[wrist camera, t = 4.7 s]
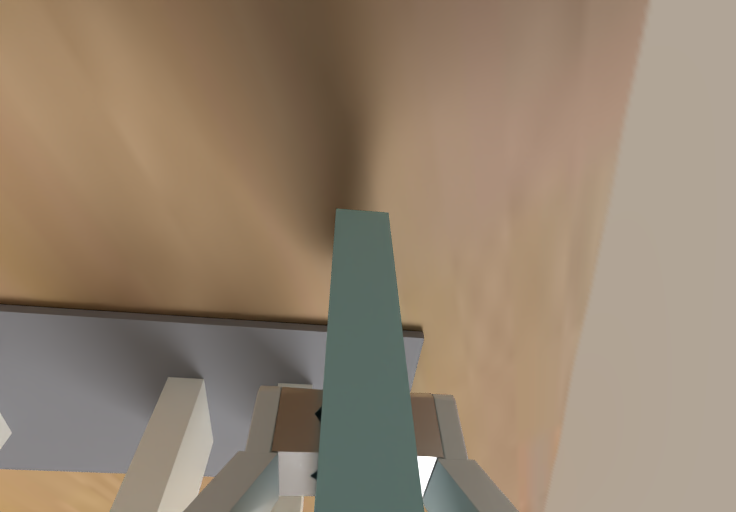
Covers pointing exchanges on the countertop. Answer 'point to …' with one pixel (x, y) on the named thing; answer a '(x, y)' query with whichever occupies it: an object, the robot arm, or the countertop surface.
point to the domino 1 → (4, 431)
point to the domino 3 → (290, 507)
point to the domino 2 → (170, 452)
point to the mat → (140, 379)
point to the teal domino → (365, 379)
